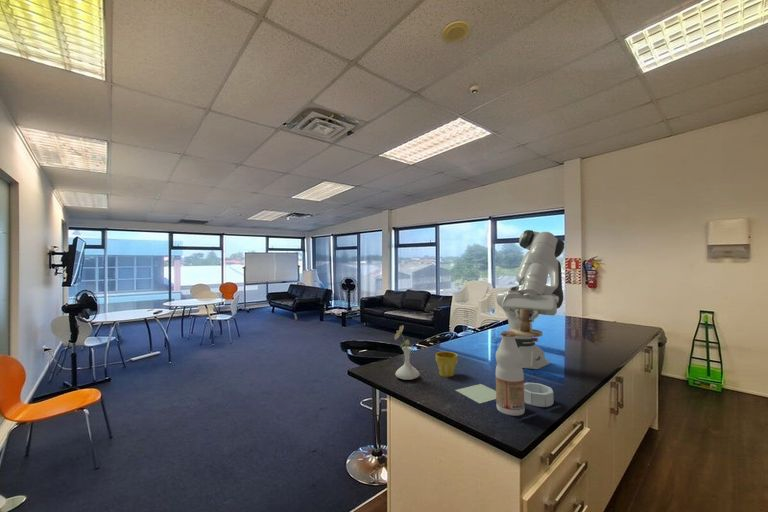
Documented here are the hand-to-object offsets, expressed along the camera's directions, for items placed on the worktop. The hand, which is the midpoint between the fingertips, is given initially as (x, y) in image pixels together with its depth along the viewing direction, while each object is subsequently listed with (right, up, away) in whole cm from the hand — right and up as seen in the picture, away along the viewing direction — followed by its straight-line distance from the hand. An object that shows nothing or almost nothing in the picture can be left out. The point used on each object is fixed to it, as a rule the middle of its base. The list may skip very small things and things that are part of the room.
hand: (524, 320), depth 119 cm
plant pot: (-25, -32, +27) cm, 49 cm away
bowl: (+3, -30, -3) cm, 31 cm away
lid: (0, -5, 0) cm, 5 cm away
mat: (-16, -31, +5) cm, 35 cm away
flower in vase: (-44, -32, +24) cm, 60 cm away
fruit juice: (-9, -31, -10) cm, 33 cm away
